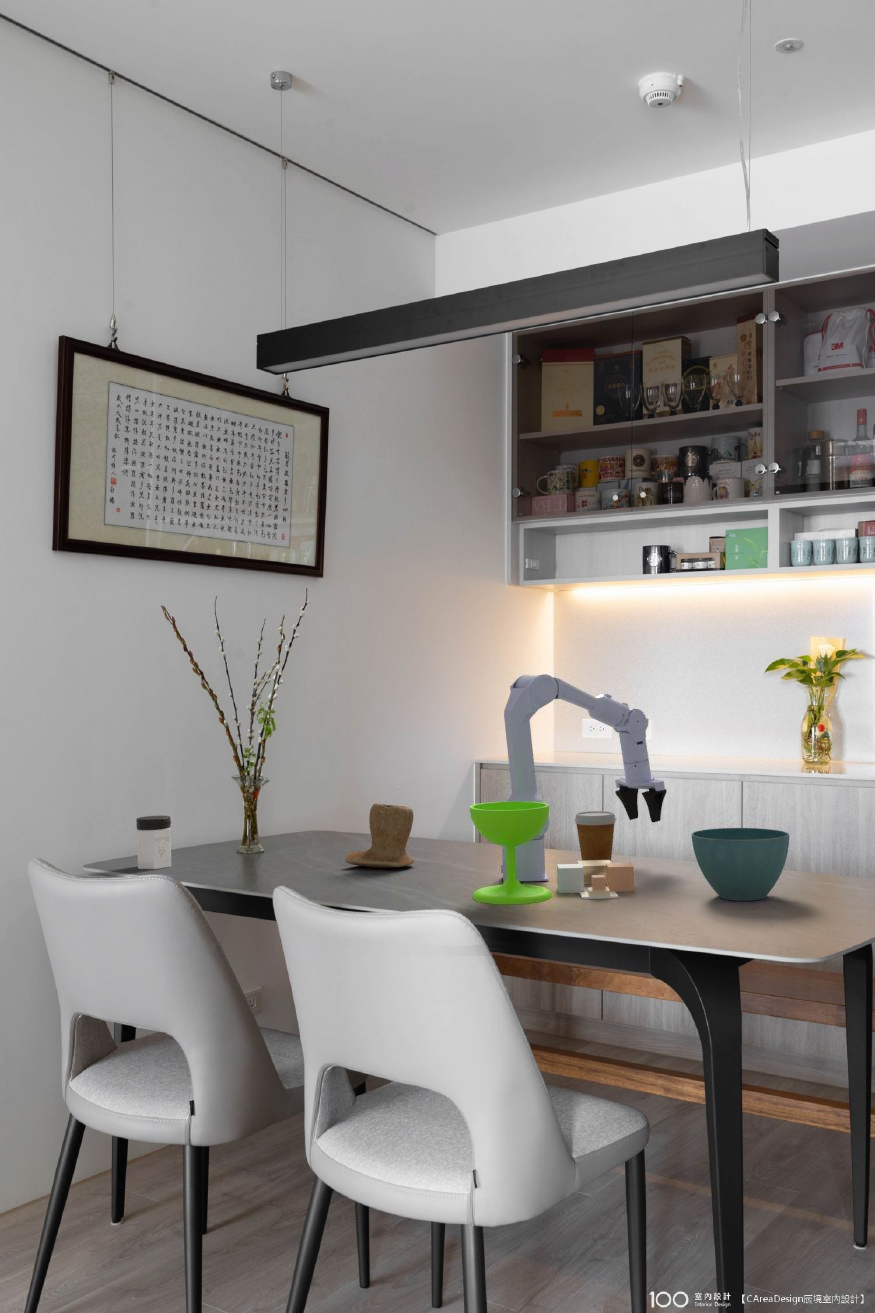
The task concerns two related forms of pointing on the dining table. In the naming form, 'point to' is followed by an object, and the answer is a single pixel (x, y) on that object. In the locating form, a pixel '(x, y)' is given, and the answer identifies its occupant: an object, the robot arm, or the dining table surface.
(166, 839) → the jar
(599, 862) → the maple base block
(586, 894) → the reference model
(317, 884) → the dining table surface
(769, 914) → the dining table surface
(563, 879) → the grey block
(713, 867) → the dark teal bowl
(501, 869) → the robot arm
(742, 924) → the dining table surface
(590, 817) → the disposable coffee cup
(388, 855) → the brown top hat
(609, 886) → the terracotta block
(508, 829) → the wineglass
